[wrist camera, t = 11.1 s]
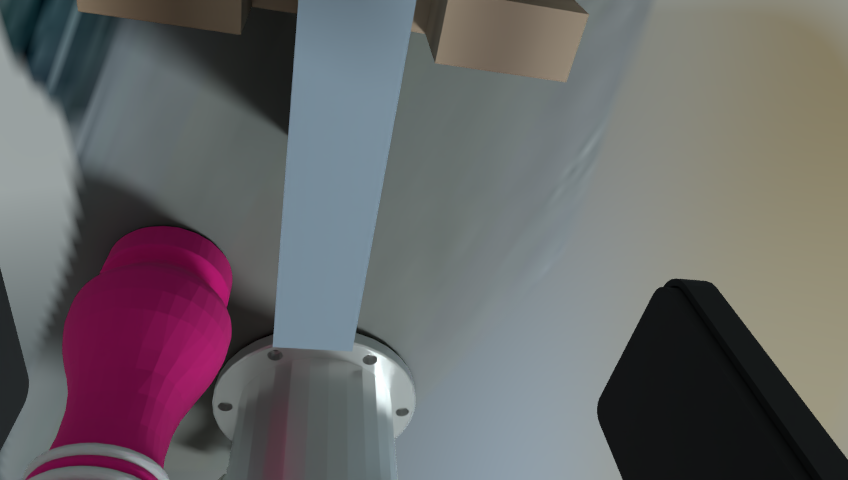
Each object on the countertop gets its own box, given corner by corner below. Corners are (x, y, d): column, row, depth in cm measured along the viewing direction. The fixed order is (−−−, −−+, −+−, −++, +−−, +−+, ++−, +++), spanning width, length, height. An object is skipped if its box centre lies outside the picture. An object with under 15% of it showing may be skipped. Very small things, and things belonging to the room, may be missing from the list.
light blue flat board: (348, 148, 29) (352, 351, 19) (297, 142, 29) (272, 346, 19) (408, -283, 20) (478, -343, 10) (334, -303, 20) (326, -388, 9)
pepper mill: (82, 215, 30) (-208, 711, 14) (235, 216, 31) (125, 681, 15) (113, 322, 34) (-82, 794, 18) (247, 320, 35) (171, 767, 19)
